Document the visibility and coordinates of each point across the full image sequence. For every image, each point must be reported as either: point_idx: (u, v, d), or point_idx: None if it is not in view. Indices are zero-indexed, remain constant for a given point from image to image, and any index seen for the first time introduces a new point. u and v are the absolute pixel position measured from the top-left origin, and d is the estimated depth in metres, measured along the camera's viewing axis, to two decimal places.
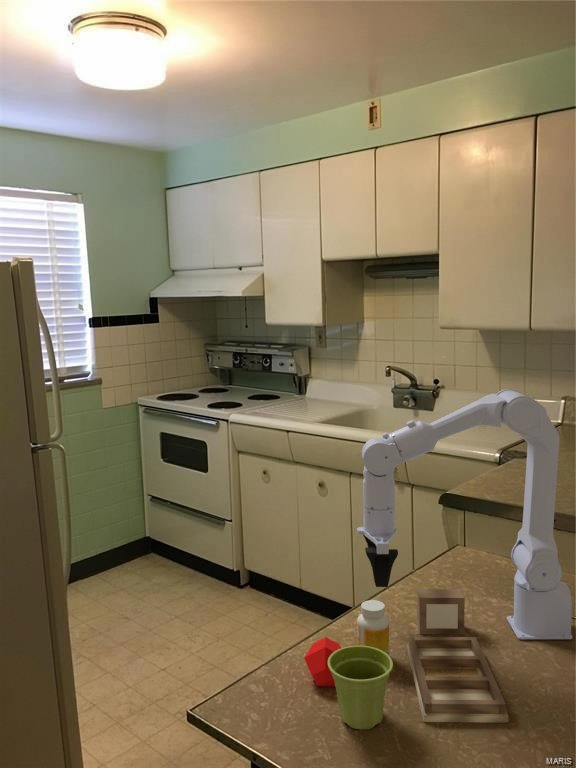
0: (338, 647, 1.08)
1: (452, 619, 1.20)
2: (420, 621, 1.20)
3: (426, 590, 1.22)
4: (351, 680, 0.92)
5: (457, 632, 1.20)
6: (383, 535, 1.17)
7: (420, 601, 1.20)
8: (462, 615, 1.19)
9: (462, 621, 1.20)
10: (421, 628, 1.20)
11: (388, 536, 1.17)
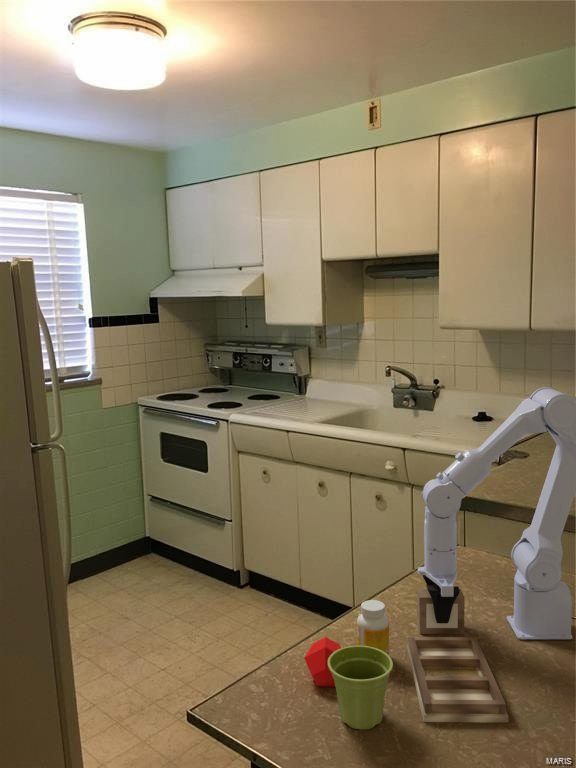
0: (338, 647, 1.08)
1: (452, 618, 1.20)
2: (420, 621, 1.20)
3: (426, 590, 1.22)
4: (351, 680, 0.92)
5: (457, 632, 1.20)
6: (446, 576, 1.17)
7: (420, 601, 1.20)
8: (462, 615, 1.19)
9: (462, 621, 1.20)
10: (421, 628, 1.20)
11: (450, 577, 1.17)
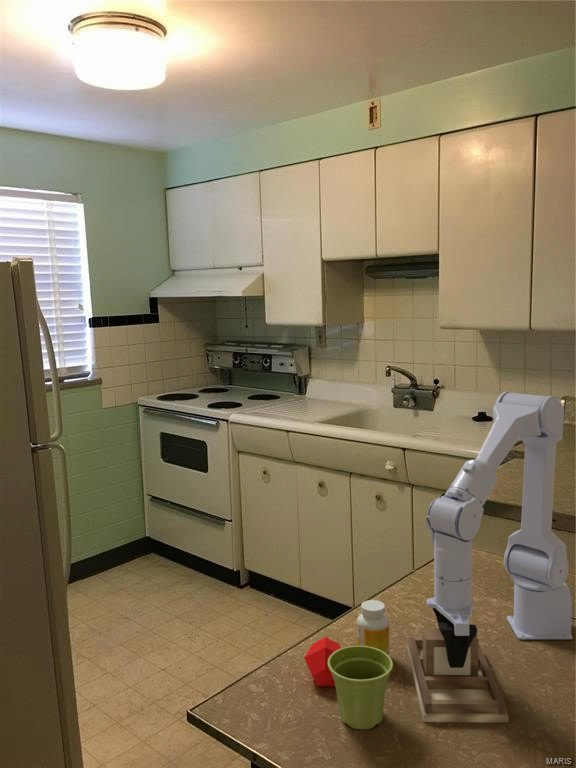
0: (338, 647, 1.08)
1: (464, 664, 1.03)
2: (427, 666, 1.03)
3: (433, 629, 1.05)
4: (351, 680, 0.92)
5: None
6: (459, 610, 1.00)
7: (427, 643, 1.03)
8: (476, 660, 1.03)
9: (476, 667, 1.03)
10: (428, 675, 1.03)
11: (465, 612, 1.00)
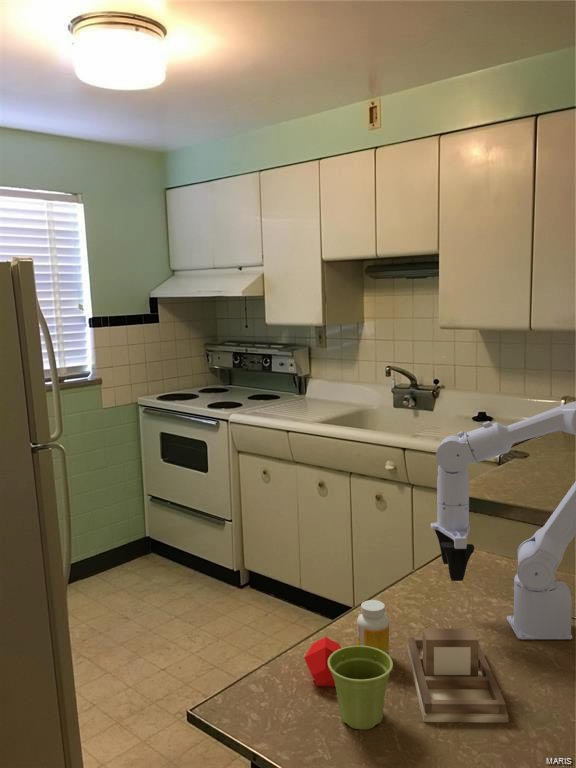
0: (338, 647, 1.08)
1: (464, 664, 1.03)
2: (427, 666, 1.03)
3: (433, 629, 1.05)
4: (351, 680, 0.92)
5: None
6: (458, 530, 1.20)
7: (427, 643, 1.03)
8: (476, 660, 1.03)
9: (476, 667, 1.03)
10: (428, 675, 1.03)
11: (463, 531, 1.20)
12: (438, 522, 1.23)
